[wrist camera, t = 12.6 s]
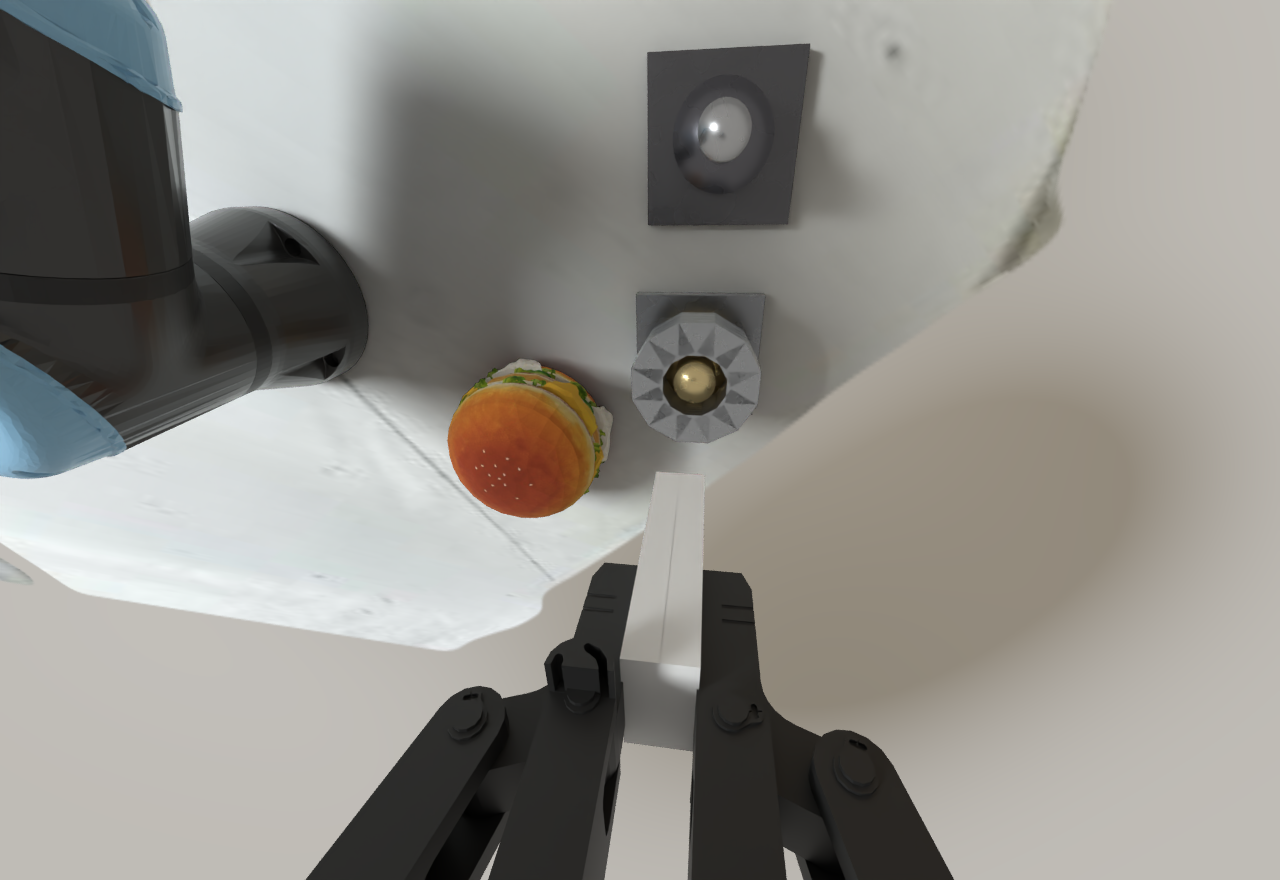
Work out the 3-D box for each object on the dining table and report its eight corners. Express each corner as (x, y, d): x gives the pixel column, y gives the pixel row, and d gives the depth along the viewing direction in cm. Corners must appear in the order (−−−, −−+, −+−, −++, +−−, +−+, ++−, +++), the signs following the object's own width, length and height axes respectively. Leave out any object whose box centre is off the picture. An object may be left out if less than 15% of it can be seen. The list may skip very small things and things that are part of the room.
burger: (460, 360, 43) (396, 404, 34) (601, 343, 40) (570, 385, 31) (502, 482, 49) (457, 545, 40) (627, 474, 46) (608, 540, 37)
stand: (649, 224, 35) (632, 234, 27) (649, 56, 30) (627, 9, 22) (785, 223, 34) (808, 233, 26) (807, 47, 29) (842, -5, 21)
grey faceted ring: (617, 389, 37) (610, 404, 34) (675, 288, 33) (672, 297, 30) (712, 443, 38) (712, 462, 35) (781, 353, 34) (786, 367, 31)
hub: (639, 404, 42) (627, 441, 36) (637, 292, 38) (623, 312, 31) (751, 409, 41) (758, 448, 35) (763, 293, 36) (774, 314, 30)
